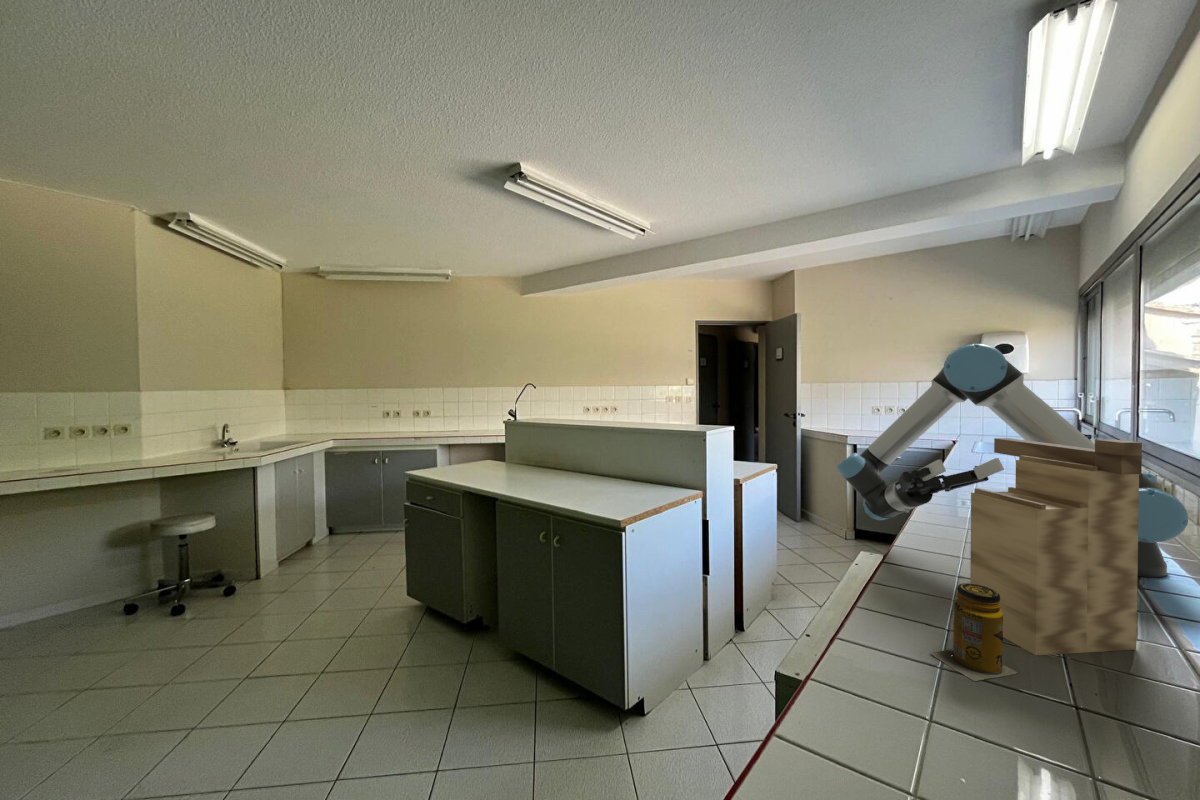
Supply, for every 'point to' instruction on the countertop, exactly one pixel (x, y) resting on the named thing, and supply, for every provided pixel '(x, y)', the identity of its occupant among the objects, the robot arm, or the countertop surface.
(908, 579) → the countertop surface
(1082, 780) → the countertop surface
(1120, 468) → the frame bar
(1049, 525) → the notch post
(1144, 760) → the countertop surface
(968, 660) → the condiment
